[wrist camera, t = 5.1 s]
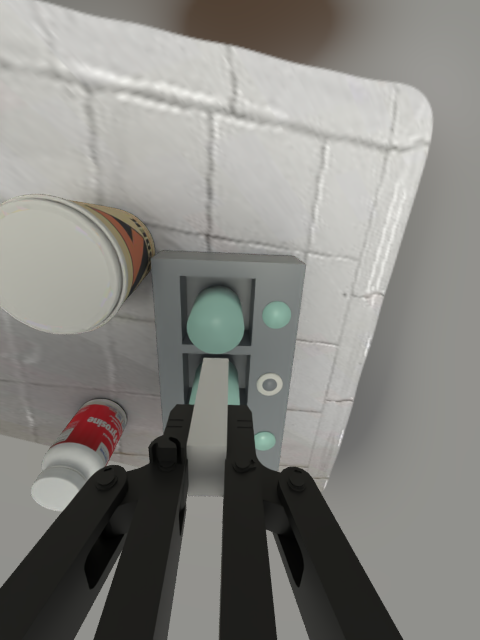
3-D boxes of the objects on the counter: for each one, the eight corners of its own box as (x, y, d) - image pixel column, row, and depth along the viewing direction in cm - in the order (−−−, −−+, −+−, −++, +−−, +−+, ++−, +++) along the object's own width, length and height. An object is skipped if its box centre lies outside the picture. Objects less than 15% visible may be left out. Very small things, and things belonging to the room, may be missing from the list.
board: (173, 439, 39) (165, 472, 34) (163, 250, 29) (149, 258, 24) (272, 440, 39) (278, 472, 34) (294, 255, 30) (306, 264, 25)
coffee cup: (170, 286, 30) (136, 332, 19) (87, 294, 31) (5, 344, 19) (153, 194, 27) (99, 186, 16) (58, 204, 27) (-62, 201, 16)
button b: (195, 394, 31) (189, 426, 27) (194, 357, 30) (188, 384, 25) (237, 394, 32) (238, 426, 27) (239, 358, 30) (241, 385, 25)
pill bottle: (137, 421, 37) (102, 501, 27) (102, 440, 38) (56, 524, 28) (106, 389, 35) (55, 462, 25) (70, 410, 36) (7, 489, 26)
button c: (194, 329, 28) (187, 353, 24) (193, 284, 27) (186, 300, 22) (240, 331, 29) (242, 354, 24) (242, 286, 27) (245, 302, 22)
